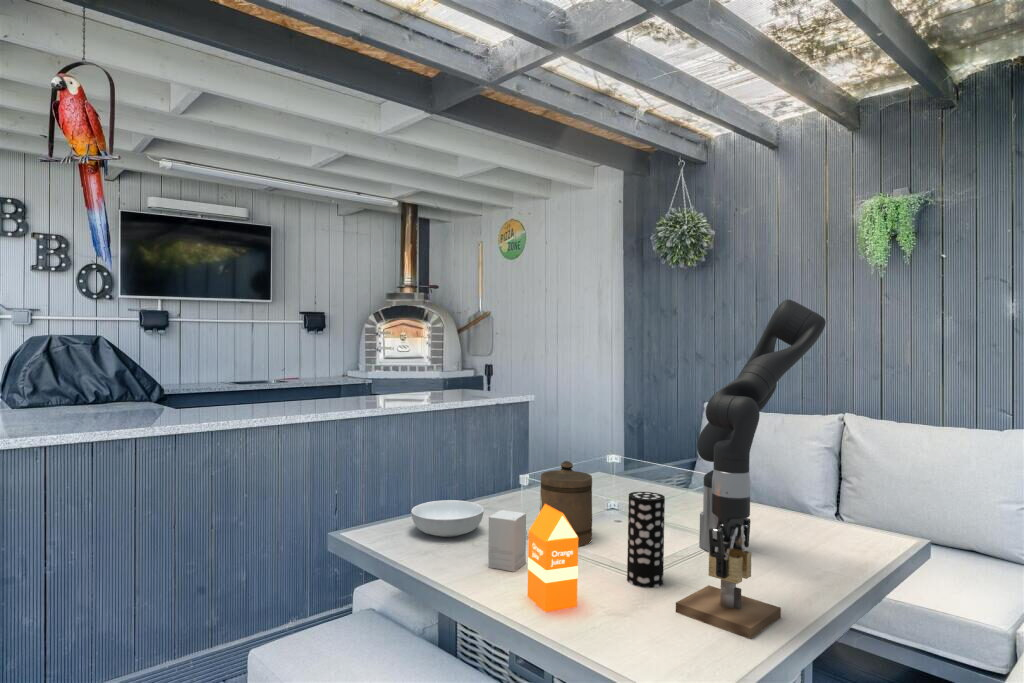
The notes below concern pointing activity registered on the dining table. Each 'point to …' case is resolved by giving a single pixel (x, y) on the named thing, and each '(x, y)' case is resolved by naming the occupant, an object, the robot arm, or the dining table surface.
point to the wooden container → (570, 498)
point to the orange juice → (552, 561)
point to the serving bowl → (447, 517)
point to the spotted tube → (645, 539)
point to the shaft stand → (729, 609)
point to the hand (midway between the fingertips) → (729, 572)
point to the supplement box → (507, 540)
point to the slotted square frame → (734, 566)
